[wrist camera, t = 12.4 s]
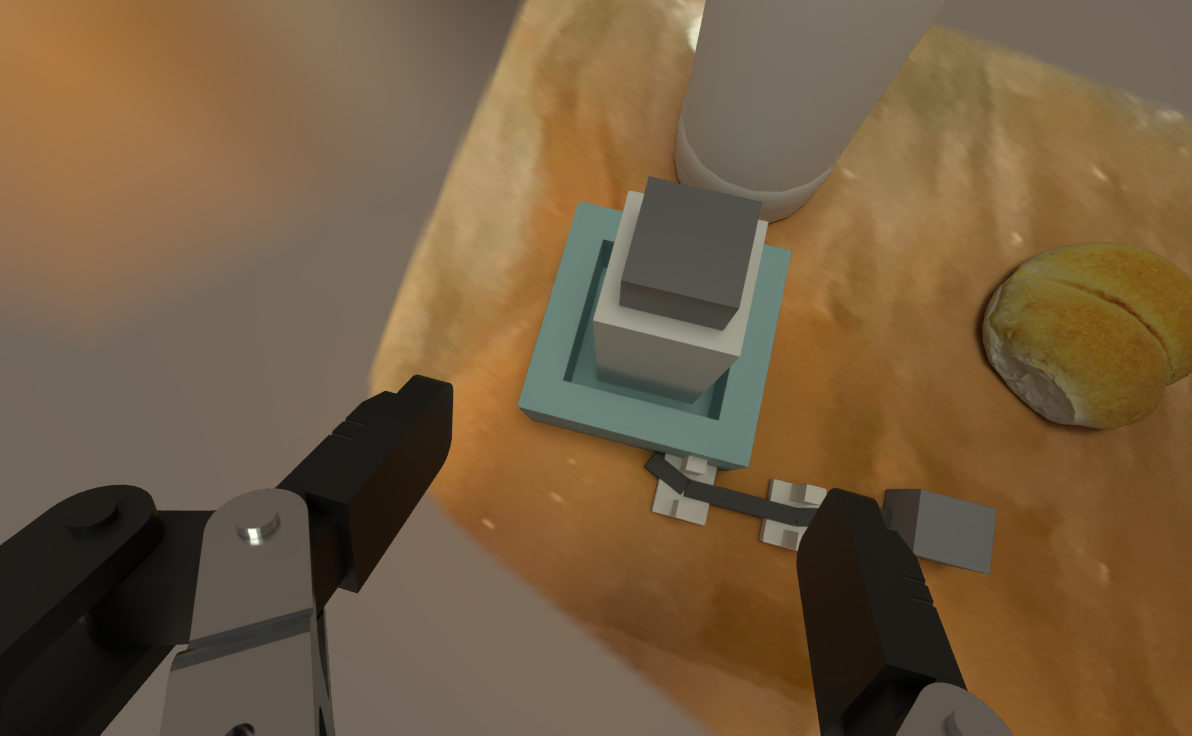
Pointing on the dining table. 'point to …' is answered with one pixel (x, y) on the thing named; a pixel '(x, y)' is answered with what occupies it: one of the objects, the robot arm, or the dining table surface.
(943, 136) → the dining table surface
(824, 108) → the bottle
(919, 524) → the cable run
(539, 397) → the end socket
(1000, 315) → the bread roll
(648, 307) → the block
